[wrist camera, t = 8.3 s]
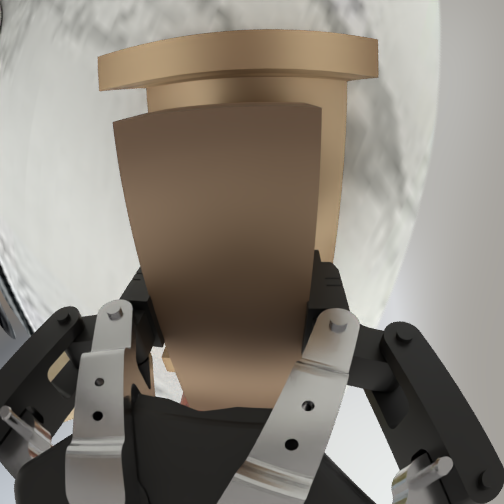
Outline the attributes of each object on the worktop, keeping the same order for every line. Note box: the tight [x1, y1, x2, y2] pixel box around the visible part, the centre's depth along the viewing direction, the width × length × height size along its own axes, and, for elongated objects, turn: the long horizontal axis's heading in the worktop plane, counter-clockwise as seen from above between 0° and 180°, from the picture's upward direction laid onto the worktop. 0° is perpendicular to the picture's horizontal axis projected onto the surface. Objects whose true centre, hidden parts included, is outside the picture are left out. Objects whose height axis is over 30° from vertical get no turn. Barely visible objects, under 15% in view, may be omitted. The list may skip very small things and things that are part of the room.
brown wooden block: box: [113, 102, 322, 411], centre depth 11 cm, size 13×5×4 cm, turn 2°
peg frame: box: [98, 29, 378, 372], centre depth 16 cm, size 11×19×6 cm, turn 1°
